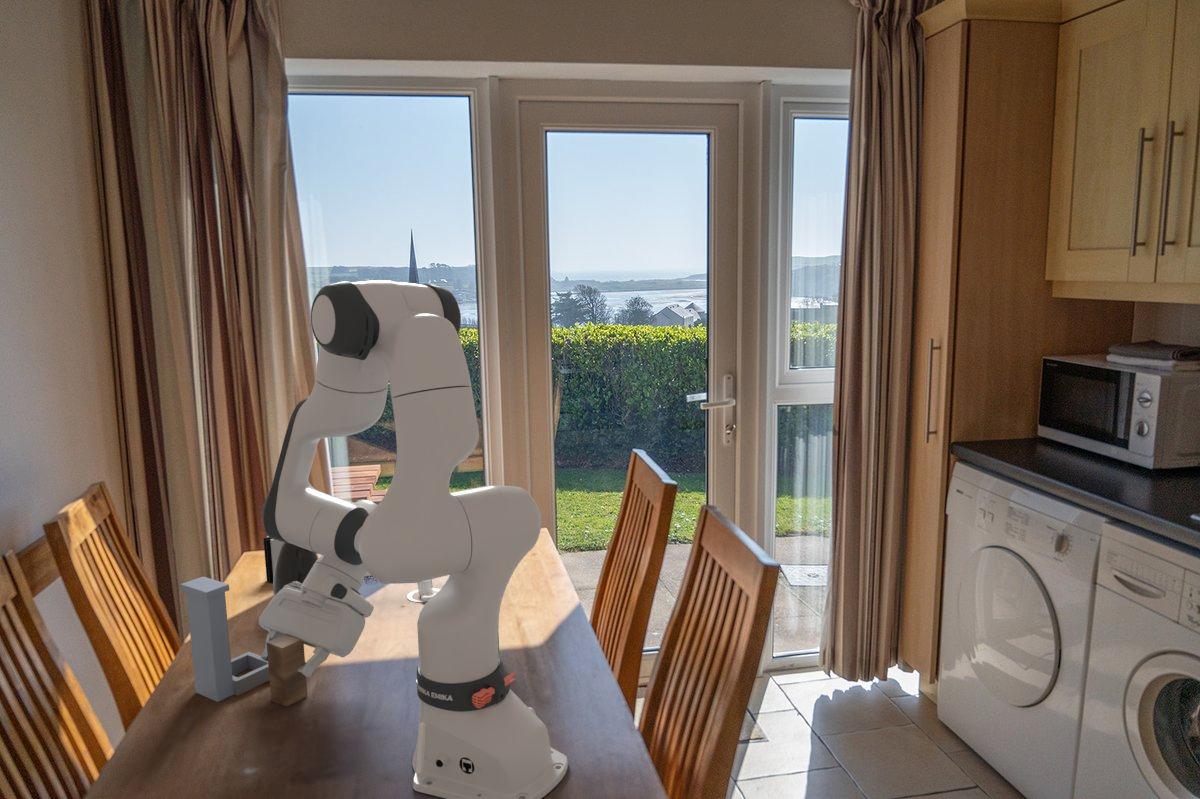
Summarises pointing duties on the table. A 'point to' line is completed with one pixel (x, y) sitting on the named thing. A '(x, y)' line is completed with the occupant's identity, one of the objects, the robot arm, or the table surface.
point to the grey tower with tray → (217, 644)
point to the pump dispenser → (292, 565)
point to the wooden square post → (286, 669)
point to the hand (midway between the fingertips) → (284, 667)
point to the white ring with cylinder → (423, 591)
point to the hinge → (271, 556)
